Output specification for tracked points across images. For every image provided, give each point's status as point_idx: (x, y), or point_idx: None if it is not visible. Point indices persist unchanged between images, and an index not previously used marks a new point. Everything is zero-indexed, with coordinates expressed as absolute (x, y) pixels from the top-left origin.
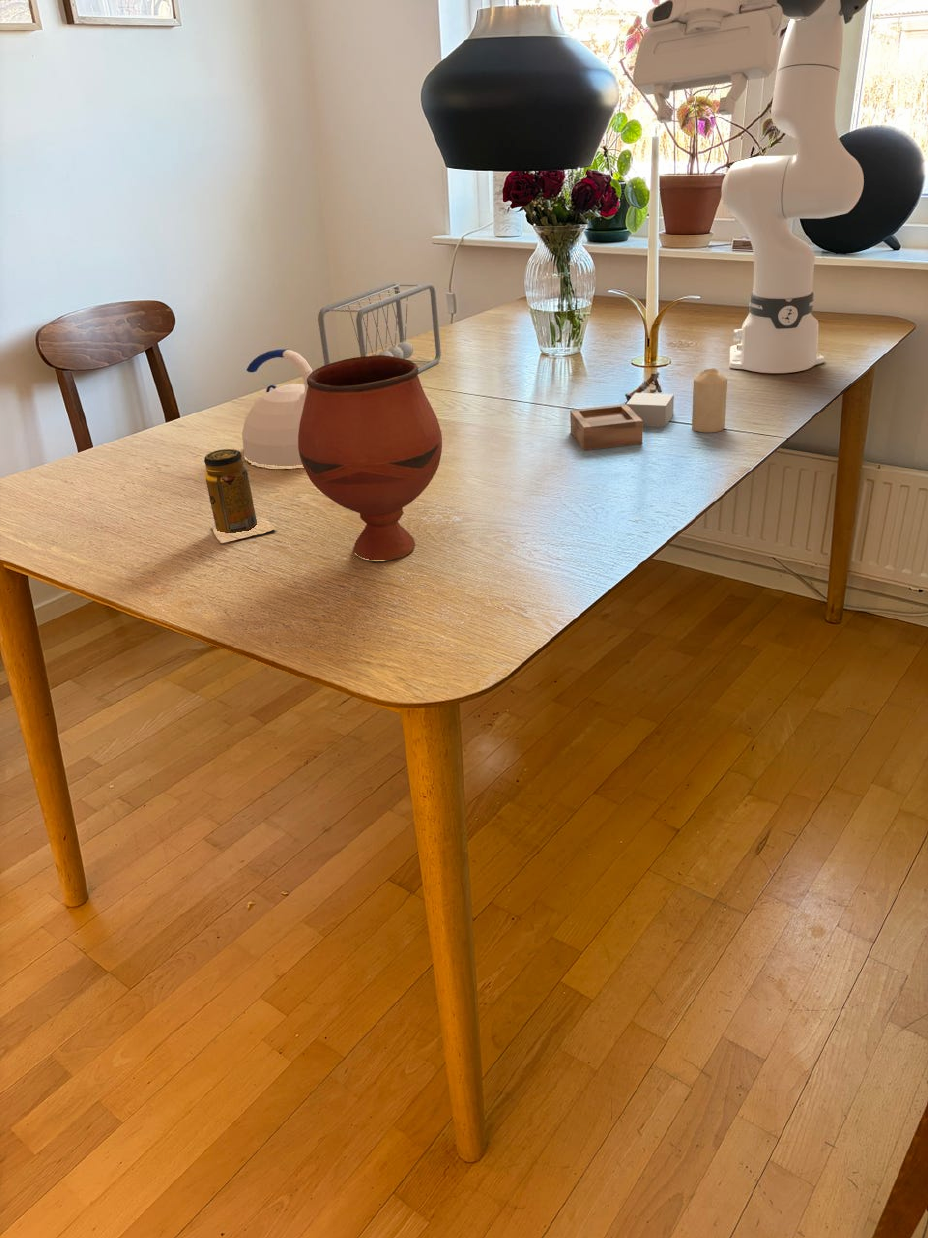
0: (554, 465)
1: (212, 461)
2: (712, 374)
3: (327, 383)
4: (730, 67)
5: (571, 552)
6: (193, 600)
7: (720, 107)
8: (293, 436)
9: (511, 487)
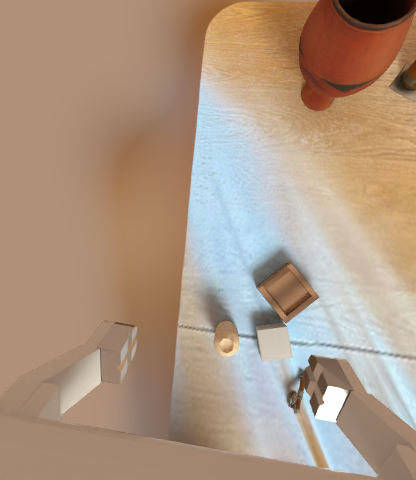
0: (292, 232)
1: None
2: (222, 337)
3: (410, 4)
4: (8, 426)
5: (227, 129)
6: None
7: (127, 327)
8: None
9: (299, 190)
